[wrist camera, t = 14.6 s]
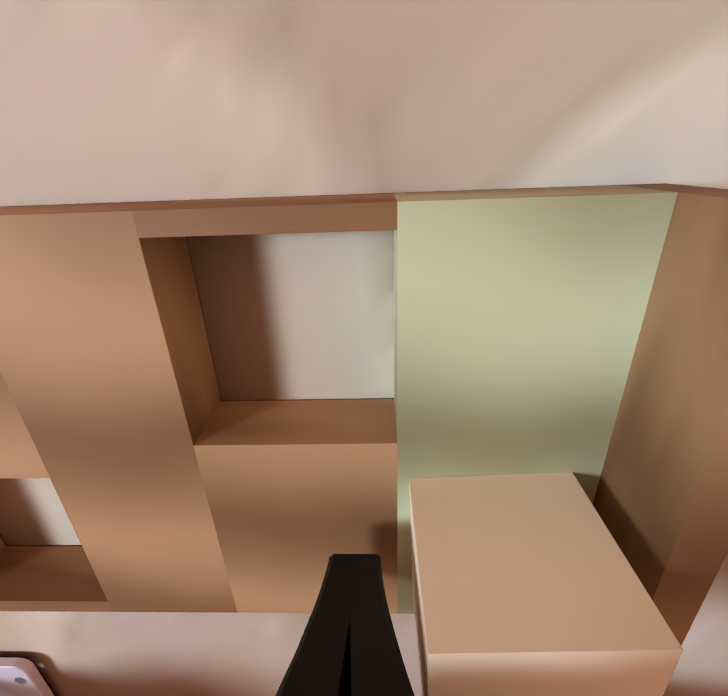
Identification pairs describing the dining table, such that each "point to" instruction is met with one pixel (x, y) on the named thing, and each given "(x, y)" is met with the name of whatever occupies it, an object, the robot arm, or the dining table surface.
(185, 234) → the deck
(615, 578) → the block
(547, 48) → the dining table surface
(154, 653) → the dining table surface
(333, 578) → the robot arm
